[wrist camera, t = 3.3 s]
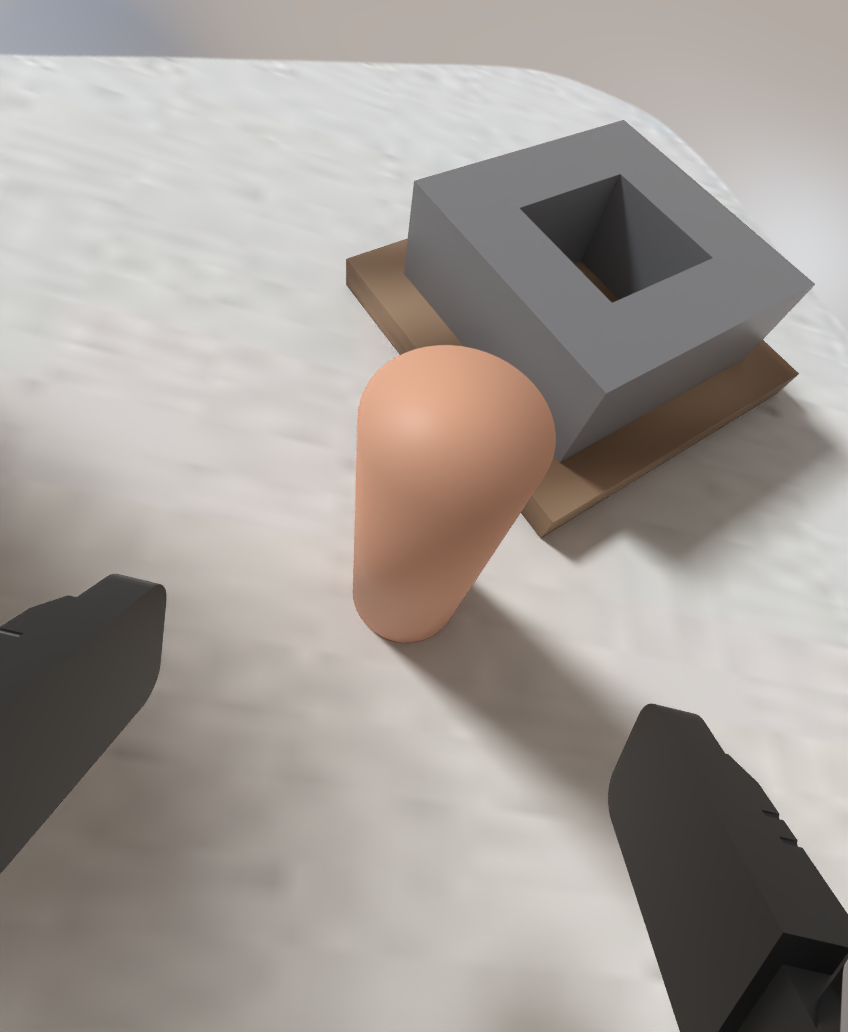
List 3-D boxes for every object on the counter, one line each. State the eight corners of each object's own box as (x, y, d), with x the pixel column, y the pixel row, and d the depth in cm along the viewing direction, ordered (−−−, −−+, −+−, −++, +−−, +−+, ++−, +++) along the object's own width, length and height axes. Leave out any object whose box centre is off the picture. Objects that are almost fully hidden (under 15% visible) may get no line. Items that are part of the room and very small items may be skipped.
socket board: (346, 284, 27) (346, 258, 26) (579, 202, 32) (589, 178, 31) (540, 538, 22) (553, 522, 21) (777, 393, 28) (798, 373, 26)
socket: (403, 273, 26) (414, 181, 22) (586, 208, 30) (623, 119, 26) (559, 462, 22) (606, 393, 18) (743, 359, 26) (815, 284, 22)
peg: (333, 572, 21) (319, 388, 11) (420, 524, 22) (480, 320, 12) (388, 663, 19) (430, 550, 9) (477, 607, 21) (595, 456, 11)
